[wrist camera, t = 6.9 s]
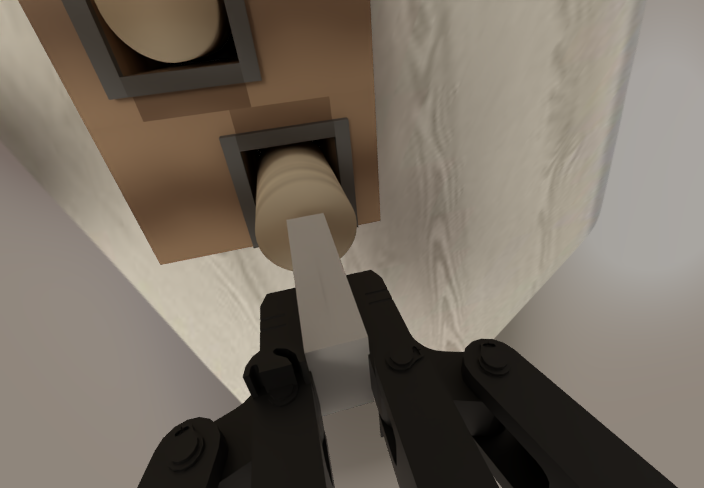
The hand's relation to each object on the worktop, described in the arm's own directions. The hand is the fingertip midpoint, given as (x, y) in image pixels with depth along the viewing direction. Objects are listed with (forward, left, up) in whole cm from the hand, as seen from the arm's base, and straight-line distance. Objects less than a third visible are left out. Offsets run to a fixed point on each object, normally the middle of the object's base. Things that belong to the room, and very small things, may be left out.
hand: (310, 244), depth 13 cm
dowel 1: (-9, -4, -15) cm, 18 cm away
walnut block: (-5, -2, -15) cm, 15 cm away
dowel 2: (0, 0, -10) cm, 10 cm away
